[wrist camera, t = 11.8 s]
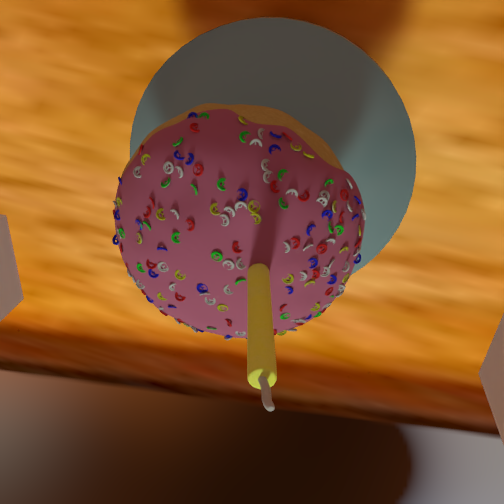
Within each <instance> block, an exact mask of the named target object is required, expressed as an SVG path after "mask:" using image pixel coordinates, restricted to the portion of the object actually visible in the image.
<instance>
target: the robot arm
mask: <svg viewBox="0 0 504 504" xmlns="http://www.w3.org/2000/svg"><path fill="white" fill-rule="evenodd" d="M23 299H24V298H23V294H22V289H21V284H20V279H19V274H18V270H17V265H16V260H15V255H14V251H13V246H12V241H11V236H10V232H9V227H8V222H7V217H6V215H0V321H1V320H2V319H3V318H4V317H5V316H6V315H7V314H8V313H9V312H10V311H11V310H12V309H14V308H15V307H16V306H17V305H18V304H19V303H20V302H21V301H22V300H23ZM479 376H480V379H481V382H482V385H483V388H484V390H485V393H486V396H487V399H488V402H489V405H490V407H491V410H492V413H493V416H494V419H495V422H496V425H497V427H498V430H499V433H500V436H501V439H502V442H503V444H504V314H503V316H502V319H501V321H500V324H499V326H498V328H497V331H496V333H495V335H494V338H493V340H492V343H491V345H490V347H489V350H488V352H487V355H486V357H485V359H484V362H483V364H482V366H481V369H480V371H479Z"/></svg>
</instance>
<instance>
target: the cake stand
mask: <svg viewBox="0 0 504 504" xmlns="http://www.w3.org/2000/svg"><path fill="white" fill-rule="evenodd" d="M205 103H217V104H226V105H236V104H244V105H256V106H265V107H270V108H274V109H278V110H280V111H283V112H285V113H287V114H288V115H290V116H292V117H293V118H294V119H296V120H297V121H299V122H300V123H301V124H302V125H304V126H305V127H306V128H308V129H309V130H311V131H312V132H314V133H315V134H317V135H318V136H320V137H321V138H322V139H323V140H324V141H325V142H326V143H327V144H328V145H329V147H330V148H331V150H332V151H333V153H334V154H335V156H336V157H337V159H338V161H339V162H340V164H341V166H342V167H343V169H344V171H346V172H347V173H349V174H350V175H351V176H352V177H353V179H354V181H355V182H356V184H357V186H358V189H359V191H360V194H361V197H362V201H363V205H364V210H365V213H366V220H365V227H364V233H363V239H362V244H361V250H360V253H359V254H360V255H361V261H360V262H359V263H358V264H355V265H354V268H353V270H352V273H351V275H352V274H353V273H355V272H356V271H358V270H359V269H361V268H362V267H363V266H365V265H366V264H367V263H368V262H369V261H371V260H372V259H373V258H374V257H375V256H376V255H377V254H378V253H379V252H380V251H381V250H382V249H383V248H384V246H385V245H386V244H387V243H388V242H389V241H390V239H391V238H392V236H393V235H394V233H395V232H396V230H397V229H398V227H399V225H400V223H401V221H402V219H403V217H404V215H405V213H406V211H407V208H408V205H409V202H410V199H411V196H412V192H413V186H414V181H415V174H416V150H415V141H414V135H413V131H412V127H411V123H410V119H409V116H408V114H407V112H406V109H405V107H404V104H403V102H402V99H401V98H400V96H399V94H398V93H397V91H396V89H395V88H394V86H393V84H392V83H391V81H390V79H389V78H388V76H387V75H386V74H385V73H384V71H383V70H382V69H381V68H380V66H379V65H378V64H377V63H376V62H375V61H374V60H373V59H372V58H371V57H370V56H369V55H368V54H367V53H366V52H365V51H364V50H362V49H361V48H360V47H359V46H357V45H356V44H354V43H353V42H351V41H350V40H349V39H347V38H346V37H344V36H342V35H340V34H338V33H336V32H334V31H332V30H330V29H328V28H326V27H324V26H321V25H317V24H314V23H311V22H308V21H305V20H299V19H293V18H287V17H258V18H250V19H243V20H239V21H236V22H232V23H229V24H225V25H222V26H220V27H217V28H215V29H213V30H211V31H208V32H206V33H204V34H202V35H200V36H198V37H196V38H195V39H193V40H192V41H190V42H189V43H187V44H186V45H184V46H183V47H181V48H180V49H179V50H178V51H177V52H176V53H175V54H173V55H172V56H171V57H170V58H169V59H168V60H167V61H166V62H165V63H164V64H163V66H162V67H161V68H160V69H159V70H158V72H157V73H156V74H155V75H154V77H153V78H152V80H151V82H150V83H149V85H148V87H147V88H146V90H145V92H144V94H143V96H142V98H141V101H140V103H139V105H138V108H137V111H136V115H135V118H134V122H133V126H132V133H131V140H130V159H131V158H132V156H133V155H134V153H135V152H136V150H137V149H138V147H139V146H140V144H141V143H142V141H143V140H144V139H145V137H146V136H147V135H148V134H149V133H150V132H151V131H153V130H154V129H155V128H157V127H158V126H160V125H161V124H163V123H165V122H167V121H169V120H170V119H172V118H174V117H176V116H178V115H180V114H182V113H184V112H186V111H188V110H190V109H192V108H194V107H196V106H199V105H201V104H205ZM358 259H359V257H358V258H357V260H358ZM357 260H356V261H357Z"/></svg>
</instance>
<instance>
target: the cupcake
mask: <svg viewBox="0 0 504 504" xmlns="http://www.w3.org/2000/svg"><path fill="white" fill-rule="evenodd" d="M118 179H119V182H120V183H119V186H118V189H117V194H116V201H113V202H114V204H115V210H113V215H114V219H115V228H116V235H115V236H114V237H113V240H112V241H113V244H115V245H119V249H120V252H121V255H122V258H123V261H124V263H125V265H126V267H127V272H128V275H129V276H130V277H132V278H133V282H134V283H135V282H136V285H137V287H138V288H139V289H141V291H142V293H143V294H144V295H146V298H147V300H148V301H149V302H150V303H153V304H154V305H155V306H156V307H157V308H158V309H159V310H160V312H161V313H162V314H164V315H165V316H167V315H170V316H172V317H174V319H175V320H176V322H177V323H178V324H180V322H181V323H183V324H184V325H186V326H187V327H189V326H190V327H191V328H192V329H193V331H194V332H196V333H197V332H198V331H200V332H204V331H206V332H210V333H215V334H219V335H223V336H225V337H224V338H225V340H229V339H231V338H232V337H235V338H246V339H247V374H248V381H249V383H250V384H251V385H252V386H253V387H255V388H258V389H261V391H262V402H263V405H264V407H265V408H266V409H267V410H268V411H273V410H274V409H275V406H274V404H273V402H272V400H271V389H270V387H271V386H273V385H274V384H275V382H276V380H277V370H276V357H275V343H274V335H276V334H277V335H284V334H286V332H287V330H288V331H297V329H293V328H295V327H297V326H300V325H303V324H304V323H306V322H308V321H309V320H311V319H313V318H314V317H318V316H320V315H321V314H322V313H323V312H324V311H325V310H326V308H327V307H329V306H330V305H331V303H332V301H333V300H334V299H335V298H336V297H339V296H340V295H342V294H343V292H344V289H345V284H346V282H347V281H348V279H349V277H350V275H351V273H352V270H353V268H354V265H355V264H358V263H359V262H360V261H361V255H360V254H359V253H360V250H361V244H362V239H363V233H364V227H365V220H366V213H365V210H364V205H363V201H362V197H361V194H360V191H359V189H358V186H357V184H356V182H355V181H354V179H353V177H352V176H351V175H350V174H349V173H347V172H346V171H344V169H343V167H342V166H341V164H340V162H339V161H338V159H337V157H336V156H335V154H334V153H333V151H332V150H331V148H330V147H329V145H328V144H327V143H326V142H325V141H324V140H323V139H322V138H321V137H320V136H318V135H317V134H315V133H314V132H312V131H311V130H309V129H308V128H306V127H305V126H304V125H302V124H301V123H300V122H299V121H297V120H296V119H294V118H293V117H292V116H290V115H288V114H287V113H285V112H283V111H280V110H278V109H274V108H270V107H265V106H256V105H244V104H236V105H226V104H217V103H205V104H201V105H199V106H196V107H194V108H192V109H190V110H188V111H186V112H184V113H182V114H180V115H178V116H176V117H174V118H172V119H170V120H169V121H167V122H165V123H163V124H161V125H160V126H158V127H157V128H155V129H154V130H153V131H151V132H150V133H149V134H148V135H147V136H146V137H145V139H144V140H143V141H142V143H141V144H140V146H139V147H138V149H137V150H136V152H135V153H134V155H133V156H132V158H131V159H130V161H129V162H128V164H127V165H126V167H125V169H124V171H123V174H122V177H121V178H120V177H118ZM116 237H117V239H115V238H116ZM115 240H117V242H115ZM358 257H359V259H358V260H357V258H358ZM356 260H357V261H356ZM340 291H341V292H340ZM195 329H196V330H195ZM282 332H284V333H282Z"/></svg>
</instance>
